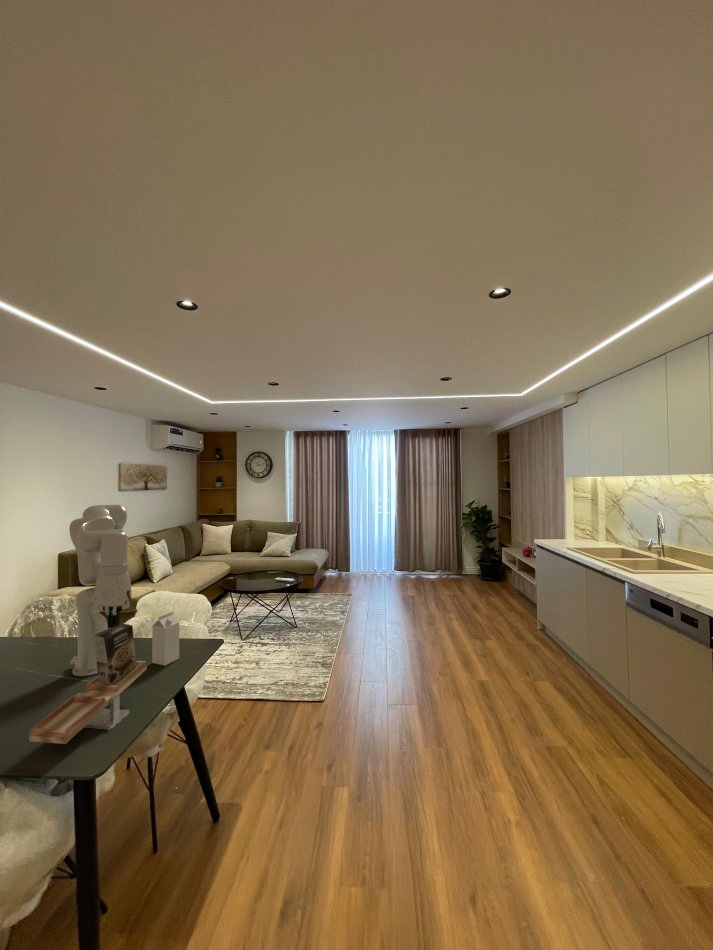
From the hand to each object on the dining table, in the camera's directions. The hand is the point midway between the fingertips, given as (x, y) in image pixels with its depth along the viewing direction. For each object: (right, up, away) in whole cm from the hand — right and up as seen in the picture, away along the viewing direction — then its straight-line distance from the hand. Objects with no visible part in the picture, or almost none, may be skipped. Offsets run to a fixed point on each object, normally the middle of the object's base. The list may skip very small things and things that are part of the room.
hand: (113, 626), depth 122 cm
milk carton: (+1, -27, +32) cm, 42 cm away
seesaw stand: (-1, -26, -8) cm, 27 cm away
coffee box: (0, -18, +2) cm, 18 cm away
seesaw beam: (-1, -20, -7) cm, 21 cm away
